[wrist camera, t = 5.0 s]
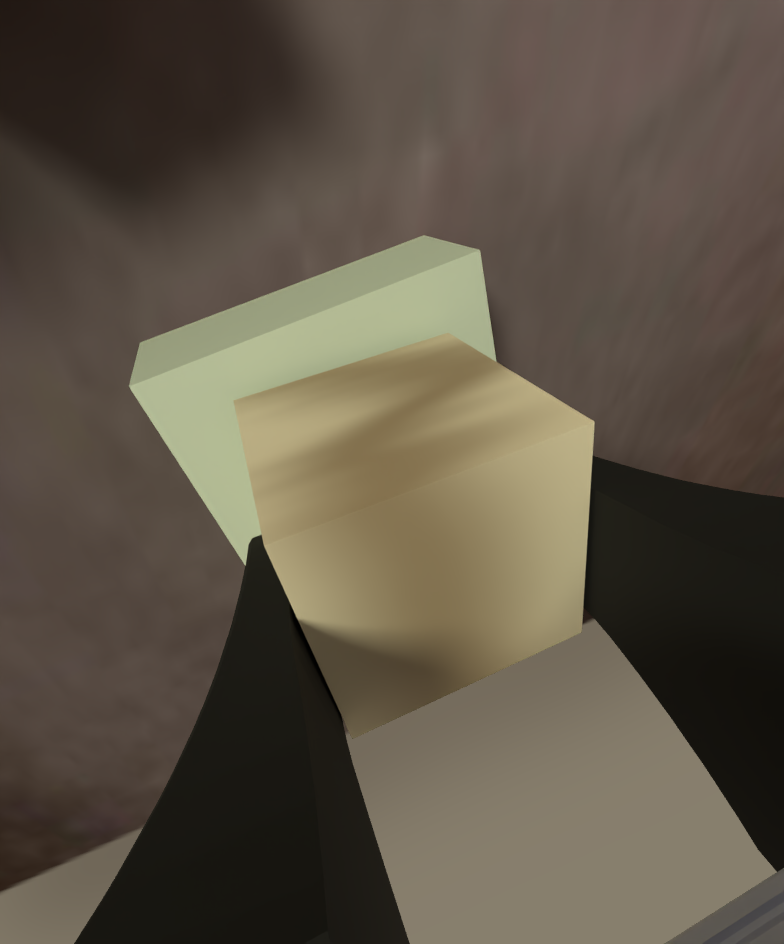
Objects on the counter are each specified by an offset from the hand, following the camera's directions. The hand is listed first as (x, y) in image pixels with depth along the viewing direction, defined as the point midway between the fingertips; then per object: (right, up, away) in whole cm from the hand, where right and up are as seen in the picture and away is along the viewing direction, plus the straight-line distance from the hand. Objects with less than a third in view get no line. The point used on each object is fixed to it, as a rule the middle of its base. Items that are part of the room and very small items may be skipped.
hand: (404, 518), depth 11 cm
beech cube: (-1, +1, +2) cm, 2 cm away
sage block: (-2, +3, +5) cm, 6 cm away
